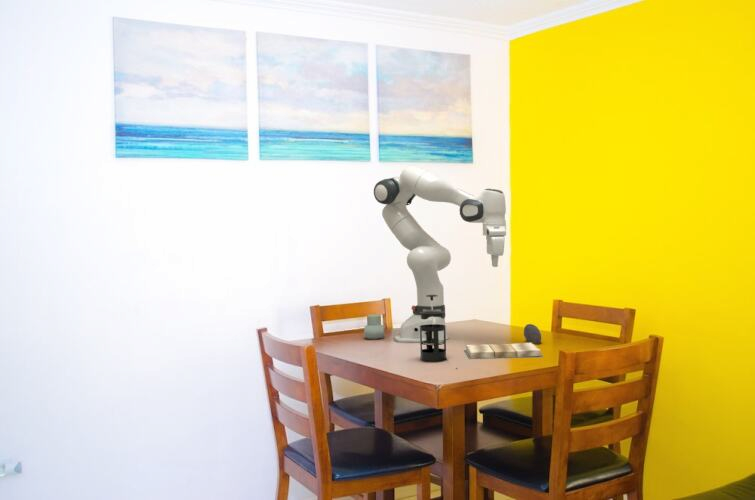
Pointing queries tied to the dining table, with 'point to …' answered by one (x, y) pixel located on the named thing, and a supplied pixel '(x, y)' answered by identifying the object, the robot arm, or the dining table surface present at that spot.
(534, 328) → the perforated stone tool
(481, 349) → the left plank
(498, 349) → the fixed plank
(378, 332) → the air freshener
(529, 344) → the right plank
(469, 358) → the underlay mat
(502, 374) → the dining table surface
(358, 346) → the dining table surface
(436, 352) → the french press
